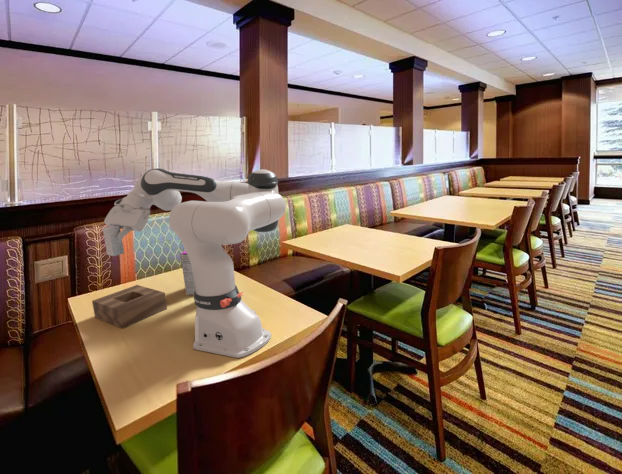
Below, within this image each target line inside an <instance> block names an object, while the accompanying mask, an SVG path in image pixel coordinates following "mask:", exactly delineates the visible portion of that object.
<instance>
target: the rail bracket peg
mask: <svg viewBox="0 0 622 474" xmlns="http://www.w3.org/2000/svg"><path fill="white" fill-rule="evenodd" d="M121 231H122V230H121V229H120V226H105V227H102V233H103V238H104V239H103V240H104V243H105V250H106V255H107V256H111V257H116V256H120V255H124V254H125V250H124V249H125V248H124V244H123V239H122V240H120V239H118V238H116V236H117V234H118V233H120V232H121Z"/></svg>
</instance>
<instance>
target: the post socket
mask: <svg viewBox="0 0 622 474" xmlns="http://www.w3.org/2000/svg"><path fill="white" fill-rule="evenodd" d="M166 298H167V297H166V292H164V291H160V290H156V289H153V288H149V287H146V286H143V285H139V284H136V285H133V286H130V287H127V288H124V289H122V290H119V291H116V292H113V293H110V294H107V295H105V296H102V297H101V296H100V297H99V298H96V299H93V300H91V302H92V308H93V313H94V314H93V315H94V318H95V319H98V320H100V321H103V322H105V323H108V324H111V325H112V326H116V327H118V328H120V329H125V328H128V327H130V326H132V325H134V324H136V323H139V322H140V321H143V320H145V319H148V318H150V317H152V316H154V315H157V314H159V313H161V312H163V311H165V310H167V309H168V307H167V306H168V305H167V299H166Z"/></svg>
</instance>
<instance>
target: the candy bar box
mask: <svg viewBox="0 0 622 474" xmlns="http://www.w3.org/2000/svg"><path fill="white" fill-rule="evenodd" d="M179 255H180V259H181V260H180V261H181V269H182V274H183V283H184V289H185V295H186V296H194V291H195V285H194V278H193V271H192V266H191V263H190V260H189V257H188V255H187V252H186V250H184V251H182V252H181V253H180V254H179Z"/></svg>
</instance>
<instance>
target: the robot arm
mask: <svg viewBox="0 0 622 474" xmlns="http://www.w3.org/2000/svg"><path fill="white" fill-rule="evenodd" d="M278 184H279V181H278V177H277V174H276V173H275V172H273V171H271V170H268V169H263V168H261V169H257V170H255V171H252V172H250V173H249V174H248V178H247V182H238V181H234V182H233V181H223V180H218V179H214V178H212V177H208V176H203V175H197V174H196V175H195V174H188V173H178V172H171V171H168V170H166V169H163V168H152V169H148V170H147V171H145V172H144V173H143V174H142V175H141V176H140V177H139V178H138V180H137V181H135V184H134V187H133V189H132V190H131V191H130V192H129V193H128V194H127V196H124V197H123V198H119V199H117V200H116V201H114V206H113V207H112V208H111V209H110V210H109V212H108V213H107V215H106V217H105V218H104V221H103V222H104V224H105V225H106V226H107V227H109V226H120V231H121V232H120V233H118V234H117V236H116V238H118V239H120V240H122V241H123V239H124V237H126V236H127V235H128V234H129V233H130V232H131V231H133V232H142V231H143V230H144V229H145V227H146V225H147V223H148V220H149V219H150V214H151V213H152V212H151V207H152V206H153V205H154V206H156V207H157V208H158V209H161V210H162V211H165V212H168V211H169V217H168V223H169V227H170V229H171V230H172V231H173V232H174V233H175V234H176V236H177V237H178V238H179V239H180V242H181V243H182V245H183V247H184V249H185V250H186V252H187V255H188V257H189V260H190V263H191V266H192V271H193V278H194V285H195V291H194V295H193V300H194V305H195V306H196V313H195V316H194V333H195V334H194V342H193V345H192V347H193V349H194V350H197V351H202V352H206V353H212V354H217V355H222V356H226V357H232V358H235V359H236V358H239V359H240V358H243V357H247V356H249V355H251V354H253V353H254V352H257V351H258V350H259V349H261V348H262V347H264V346H265V345H266V344H268V342H269V341H270V340H271V337H272V333H271V331H269V330H267V329H265V328H264V327H263V326H262V320H261V318H260V316H259V315H257V313H256V311H255V309H251V308H250V307H249V306H248V305H247V304H246V303H245V302H244V301H243V300H242V297H243V296H244V292H243V291H241V292H240V291H239V288H238V286H237V285H236V279H235V278H236V277H235V269H234V268H235V266H234V261H233V259H232V257H231V256H230V255H229V254H228V253H227V252H226V251H225V249H224V247H223V246H226V245H235V244H236V245H237V244H240V243H241V242H243V241H244V240H245V239H246V238H247V236H248V235H249V232H251V231H254V232H256V233H257V232H258V233H263V234H264V233H269V232H272V231H274V230H276V229H277V228H278V225H279V220H280V219H281V218H282V217H284V214H285V212H286V209H287V205H286V204H287V203H286V200H285V199H284V197H283V196H282V195H281V194H279V186H278ZM181 192H184V193H192V194H196V195H198V196H199V197H201V198H203V199H204V200H205V201H204V200H188V201H184V202H183V201H182V200H183V196H182V195H181ZM121 229H122V230H121ZM222 245H223V246H222ZM185 250H184V251H185Z"/></svg>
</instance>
